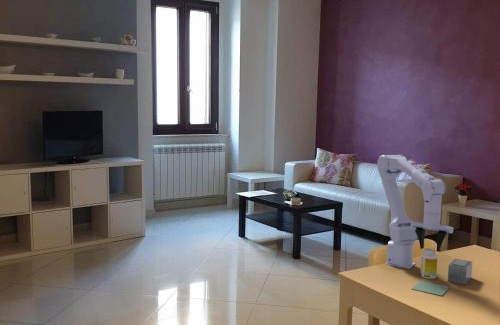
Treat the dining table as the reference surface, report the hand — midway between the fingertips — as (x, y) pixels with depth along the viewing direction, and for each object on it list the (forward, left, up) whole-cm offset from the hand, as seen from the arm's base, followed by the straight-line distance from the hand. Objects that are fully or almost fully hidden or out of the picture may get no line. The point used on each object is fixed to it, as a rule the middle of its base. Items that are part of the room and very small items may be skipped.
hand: (430, 249), depth 183 cm
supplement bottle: (0, 0, -10) cm, 10 cm away
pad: (+4, -12, -10) cm, 16 cm away
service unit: (+10, +4, -10) cm, 15 cm away
